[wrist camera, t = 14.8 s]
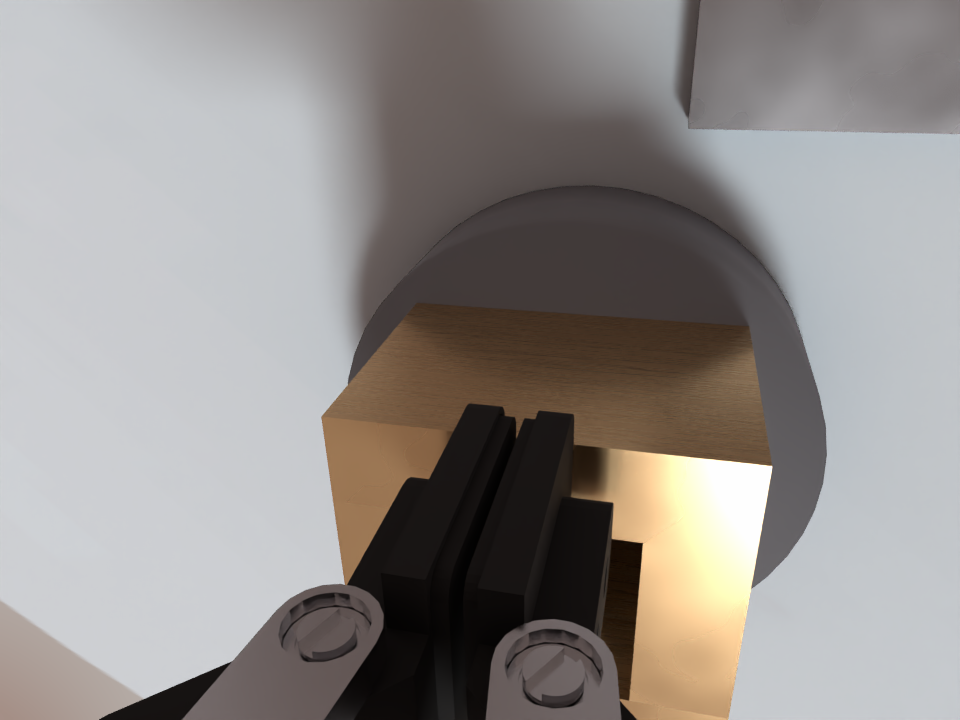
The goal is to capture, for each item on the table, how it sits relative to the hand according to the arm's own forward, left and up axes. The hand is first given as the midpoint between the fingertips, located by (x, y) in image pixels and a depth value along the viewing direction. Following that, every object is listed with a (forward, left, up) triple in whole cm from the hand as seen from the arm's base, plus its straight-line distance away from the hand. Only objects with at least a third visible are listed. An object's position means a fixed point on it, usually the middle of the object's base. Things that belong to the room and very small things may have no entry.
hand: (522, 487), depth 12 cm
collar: (0, +3, -5) cm, 6 cm away
